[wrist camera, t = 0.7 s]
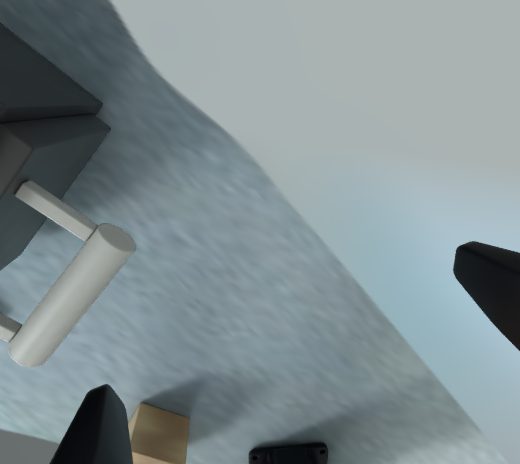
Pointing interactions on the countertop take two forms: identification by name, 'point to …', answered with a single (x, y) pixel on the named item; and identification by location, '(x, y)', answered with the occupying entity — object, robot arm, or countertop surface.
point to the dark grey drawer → (49, 205)
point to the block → (158, 436)
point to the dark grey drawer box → (36, 85)
